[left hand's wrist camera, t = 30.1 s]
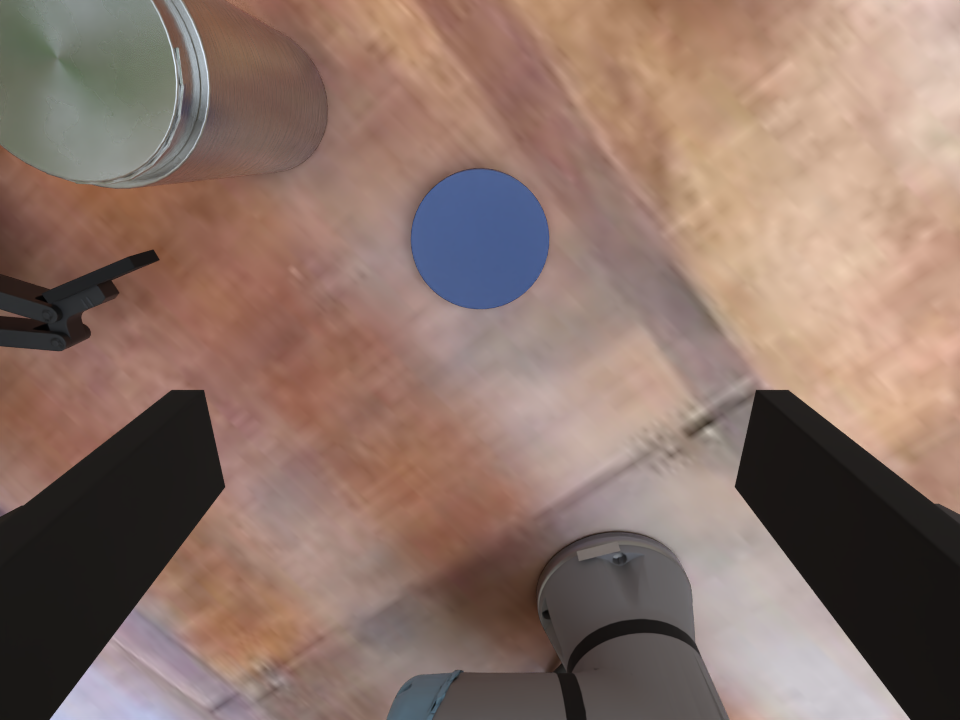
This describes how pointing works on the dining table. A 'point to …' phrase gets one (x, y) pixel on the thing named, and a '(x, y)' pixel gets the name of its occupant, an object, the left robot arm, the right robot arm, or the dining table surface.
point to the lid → (480, 238)
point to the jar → (153, 91)
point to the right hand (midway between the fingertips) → (80, 152)
